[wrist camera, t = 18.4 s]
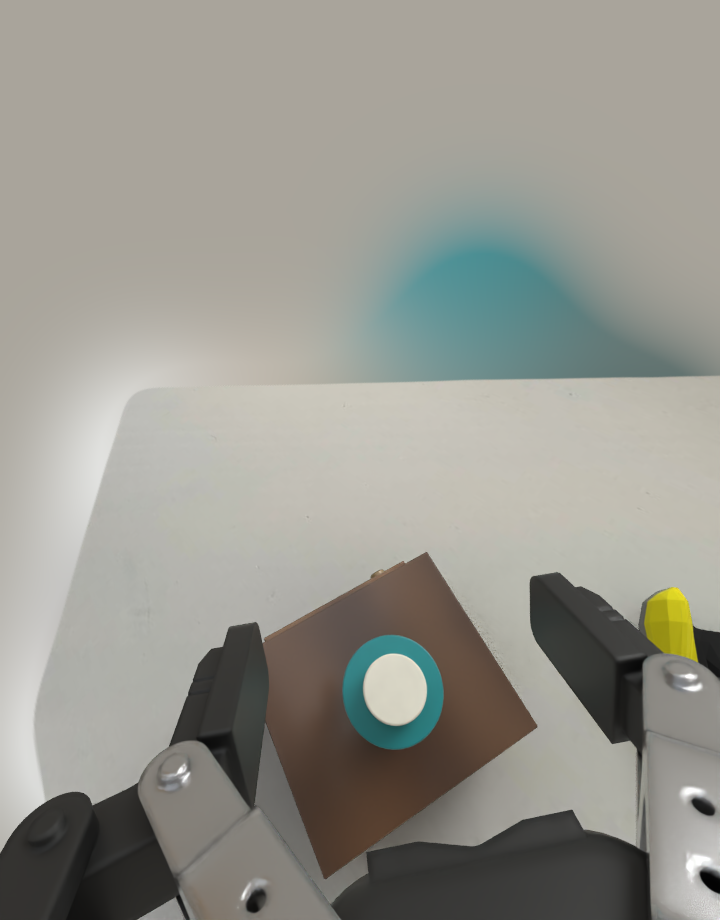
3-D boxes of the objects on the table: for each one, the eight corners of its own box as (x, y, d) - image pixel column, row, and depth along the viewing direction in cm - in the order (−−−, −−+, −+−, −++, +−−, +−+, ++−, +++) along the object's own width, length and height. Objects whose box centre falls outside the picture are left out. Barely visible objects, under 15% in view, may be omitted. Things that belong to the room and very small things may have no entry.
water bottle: (370, 750, 25) (374, 779, 16) (335, 675, 27) (322, 664, 18) (434, 708, 26) (471, 713, 17) (396, 638, 28) (412, 611, 19)
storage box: (334, 832, 30) (324, 880, 22) (262, 649, 36) (233, 636, 28) (496, 719, 33) (538, 726, 25) (406, 568, 39) (417, 535, 31)
